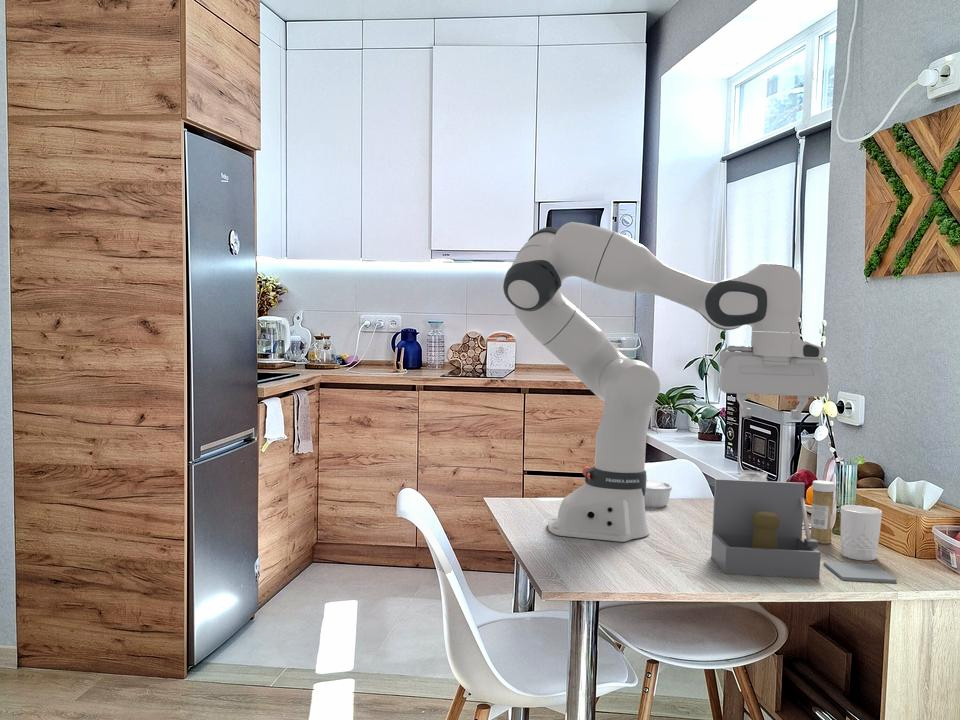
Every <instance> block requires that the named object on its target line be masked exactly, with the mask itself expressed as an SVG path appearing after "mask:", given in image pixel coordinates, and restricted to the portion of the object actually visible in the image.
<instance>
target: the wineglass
mask: <svg viewBox="0 0 960 720" xmlns="http://www.w3.org/2000/svg"><path fill="white" fill-rule="evenodd" d="M738 473H739V477H738V479H737V480H753V481H768V479H767V476H769V475H768V474H769V473H767V472H764V471H759V470H751V469H750V470H746V469H744V470H739V471H738Z"/></svg>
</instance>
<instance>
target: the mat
mask: <svg viewBox="0 0 960 720" xmlns="http://www.w3.org/2000/svg"><path fill="white" fill-rule="evenodd" d="M822 563H823V566H824V567H826V568H827V569H828V570H829V571H830V572H832V573H833V574H834V575H835V576H836V577H838V578H839V579H840V580H841V581H850V582H851V581H852V582H855V581H856V582H870V583H871V582H872V583H875V582H876V583H891V584H897V582H898V581H897V579H896V578H895V577H894V576H892V575H890V574H889V573H887V572H886V571H885V570H883V569H882V568H881V567H880V566H878V565H876V564H874V563H872V564H871V563H855V562H854V563H852V562H833V561H832V562H831V561H823V562H822Z"/></svg>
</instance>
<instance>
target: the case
mask: <svg viewBox="0 0 960 720" xmlns="http://www.w3.org/2000/svg"><path fill="white" fill-rule="evenodd" d="M805 486H806V483H805V482H795V481H792V482H791V481H772V480H771V481H769V480H767V481H753V480H738V479H730V478H729V479H728V478H727V479H726V478H715V479H714V493H713V494H714V497H713V513H712V531H711V532H712V533H711V534H712V537H711V552H710V555H711V556H710V558H711V559H712V560H713V561H714V563H716V564H717V566H718V567H719V569H721V571H722V572H723V573H724V575H738V576H739V575H740V576H741V575H742V576H743V575H744V576H745V575H746V576H757V577H758V576H759V575H760V576H761V577H762V576H763V577H777V576H781V577H780V578H797V577H801V578H802V579H816V578H817V579H818V580H819V579H820V572H821V571H820V570H821V558H822V557H821V554H822V552H821V551H820V550H818V548H819V543H818V541H816V540H815V539H811V529H810V523H809V519H808V515H807V514H808V513H807V507H806V502H805V491H806V490H805ZM757 511H769V512H773V513H776V514H777V515H778V516H779V519H780V524H779V527H778V528H777V530H776V533H777V545H778V549H762V548H751V543H752V537H753V532H754V526H753V525H752V516H753V514H754V513H755V512H757ZM803 525H804V530H805V538H803ZM782 576H783V577H782ZM784 576H785V577H784Z"/></svg>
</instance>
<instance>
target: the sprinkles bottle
mask: <svg viewBox="0 0 960 720" xmlns="http://www.w3.org/2000/svg"><path fill="white" fill-rule="evenodd" d="M811 486H812V501H811V502H812V503H811V513H810V514H811V516H810V518H811V519H810V536H811V539H815V540H816V541H818V544H823V545H824V544H825V545H826V544H831V543H832V531H833V529H832V528H833V516H834V515H833V512H834V511H833V509H834V506H833V504H834V493H835V490H836V487H835V482H833V481H830V480H823V479H822V480H821V479H820V480H818V479H817V480H813V481H812V484H811Z"/></svg>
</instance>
